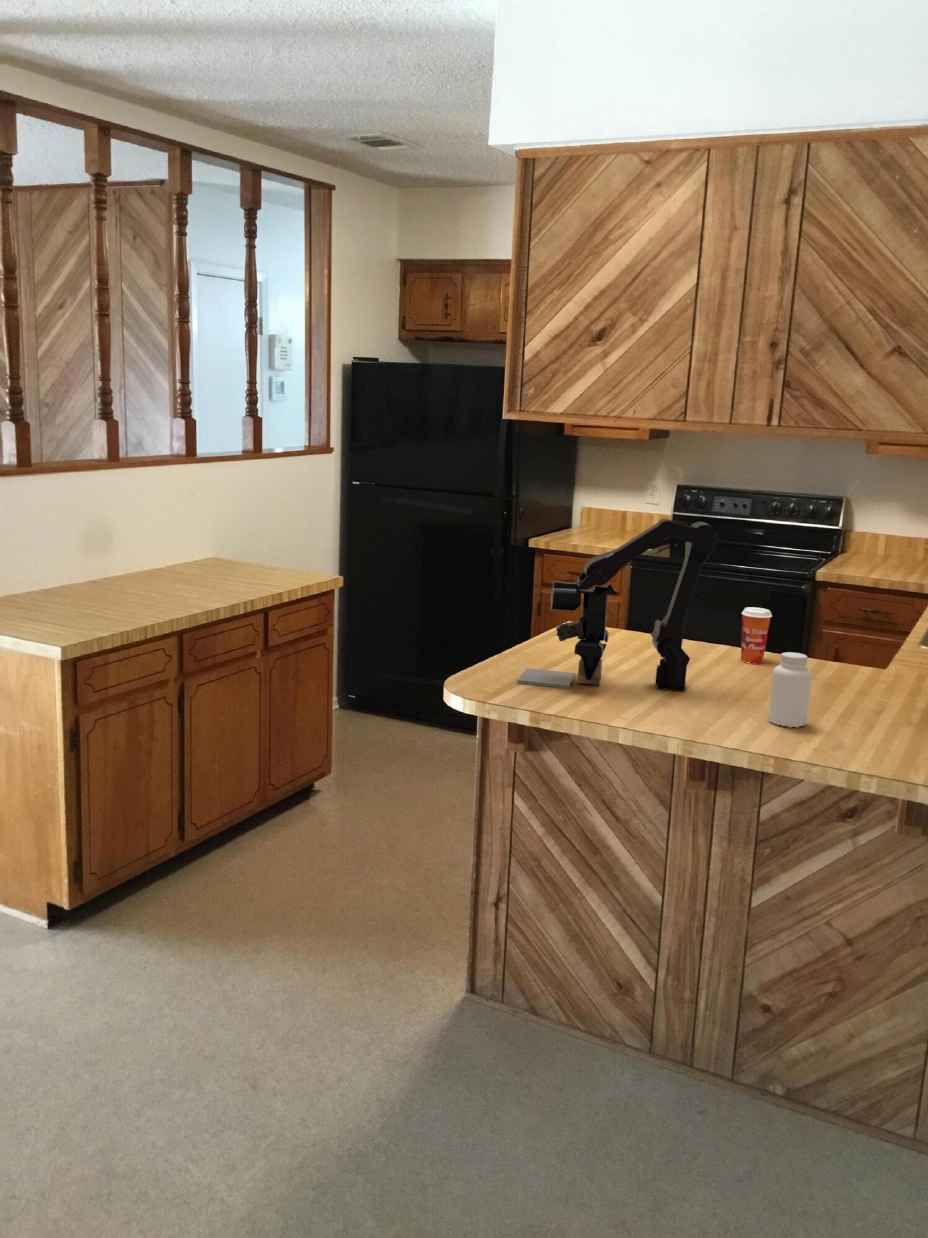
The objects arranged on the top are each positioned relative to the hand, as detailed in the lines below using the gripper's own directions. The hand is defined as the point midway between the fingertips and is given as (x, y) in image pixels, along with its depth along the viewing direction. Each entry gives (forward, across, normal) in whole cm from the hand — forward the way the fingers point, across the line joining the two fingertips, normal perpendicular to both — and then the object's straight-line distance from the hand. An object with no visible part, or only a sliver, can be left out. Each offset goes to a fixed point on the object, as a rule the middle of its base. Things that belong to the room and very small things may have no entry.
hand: (589, 676), depth 254 cm
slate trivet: (+2, +1, -10) cm, 10 cm away
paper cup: (+2, -39, +39) cm, 55 cm away
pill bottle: (+2, +16, +44) cm, 47 cm away
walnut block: (+1, 0, 0) cm, 1 cm away
